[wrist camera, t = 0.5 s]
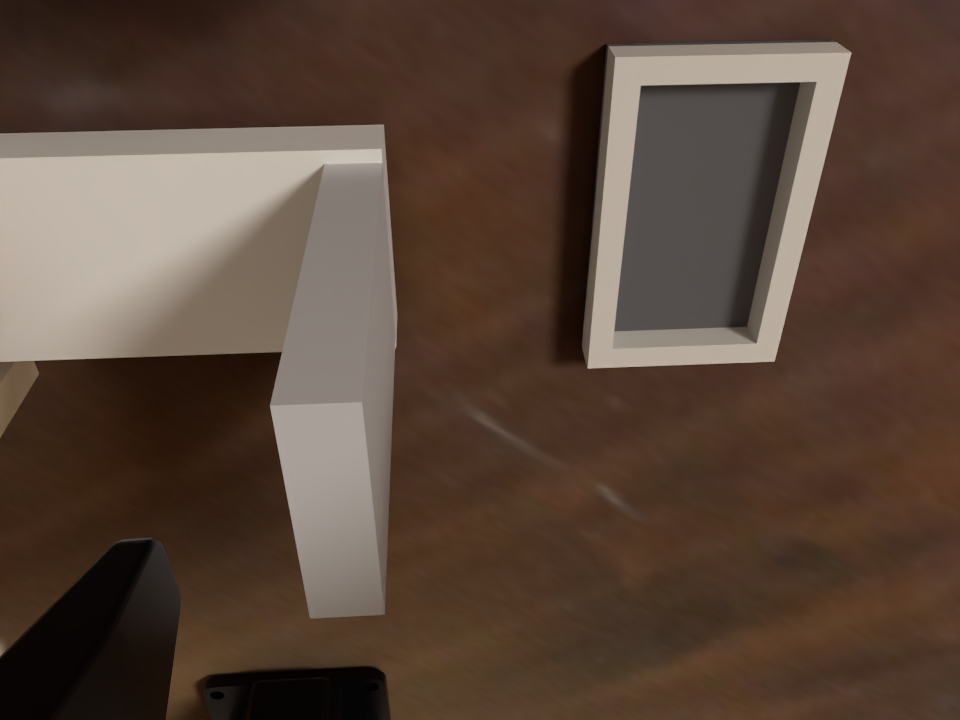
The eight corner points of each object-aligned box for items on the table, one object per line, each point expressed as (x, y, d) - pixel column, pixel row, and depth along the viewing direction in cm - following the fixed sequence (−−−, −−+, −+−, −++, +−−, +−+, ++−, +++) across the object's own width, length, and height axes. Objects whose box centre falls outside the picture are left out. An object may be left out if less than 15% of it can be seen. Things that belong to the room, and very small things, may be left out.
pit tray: (762, 340, 23) (774, 361, 22) (581, 346, 23) (587, 368, 22) (832, 39, 19) (851, 52, 18) (606, 43, 18) (615, 57, 18)
